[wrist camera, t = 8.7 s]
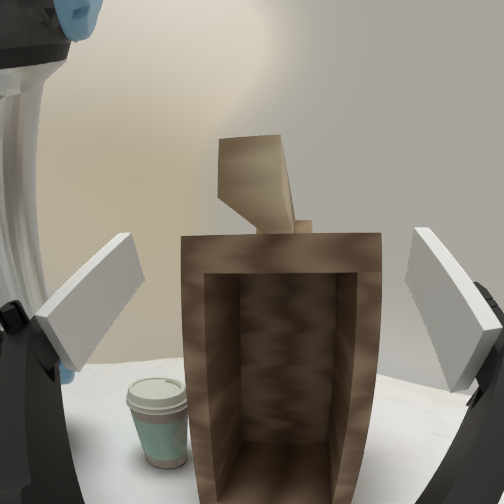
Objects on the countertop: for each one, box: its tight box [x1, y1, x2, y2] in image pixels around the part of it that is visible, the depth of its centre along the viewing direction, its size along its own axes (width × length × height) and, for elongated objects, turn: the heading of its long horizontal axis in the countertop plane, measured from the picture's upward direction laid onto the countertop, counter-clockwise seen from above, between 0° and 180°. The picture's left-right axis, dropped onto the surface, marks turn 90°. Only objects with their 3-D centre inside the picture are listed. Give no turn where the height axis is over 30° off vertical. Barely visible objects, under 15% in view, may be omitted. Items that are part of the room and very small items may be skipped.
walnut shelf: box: [181, 233, 382, 504], centre depth 30 cm, size 16×16×32 cm
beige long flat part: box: [218, 135, 312, 234], centre depth 24 cm, size 6×28×2 cm, turn 171°
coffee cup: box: [126, 377, 188, 469], centre depth 33 cm, size 9×8×12 cm
